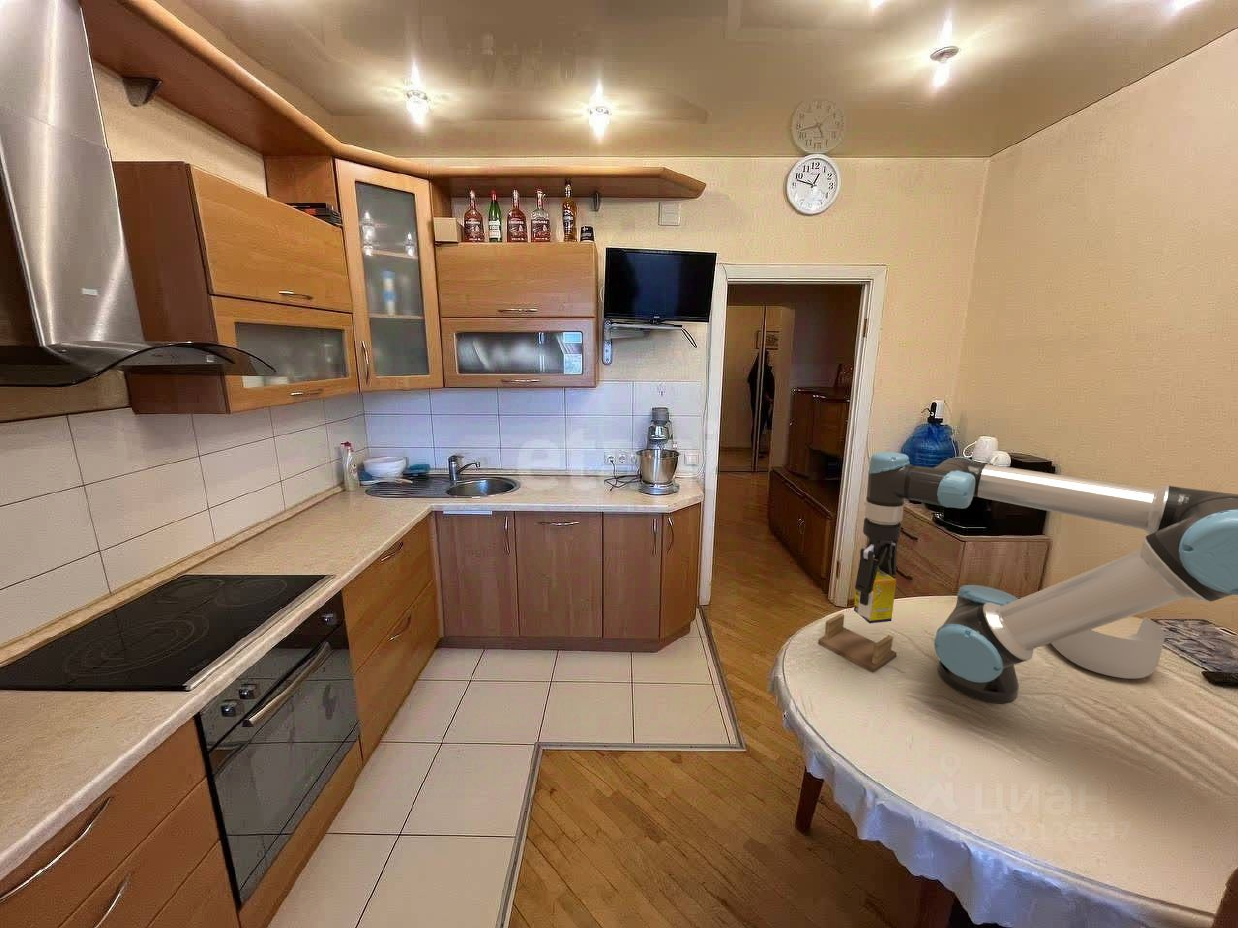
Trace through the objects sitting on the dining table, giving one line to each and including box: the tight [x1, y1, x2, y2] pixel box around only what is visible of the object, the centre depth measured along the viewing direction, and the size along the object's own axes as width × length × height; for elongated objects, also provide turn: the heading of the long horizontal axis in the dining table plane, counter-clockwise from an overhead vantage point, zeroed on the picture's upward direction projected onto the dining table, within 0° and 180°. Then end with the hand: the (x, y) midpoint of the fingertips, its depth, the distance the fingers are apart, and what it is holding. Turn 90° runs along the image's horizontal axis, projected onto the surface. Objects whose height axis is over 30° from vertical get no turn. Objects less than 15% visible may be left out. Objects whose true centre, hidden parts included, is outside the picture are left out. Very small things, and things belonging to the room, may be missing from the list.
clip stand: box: [817, 613, 898, 674], centre depth 124 cm, size 15×11×6 cm
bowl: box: [1050, 616, 1166, 680], centre depth 118 cm, size 20×19×12 cm
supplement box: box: [853, 568, 897, 624], centre depth 113 cm, size 6×6×11 cm
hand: (872, 609), depth 114 cm, fingers closed on supplement box, 8 cm apart
